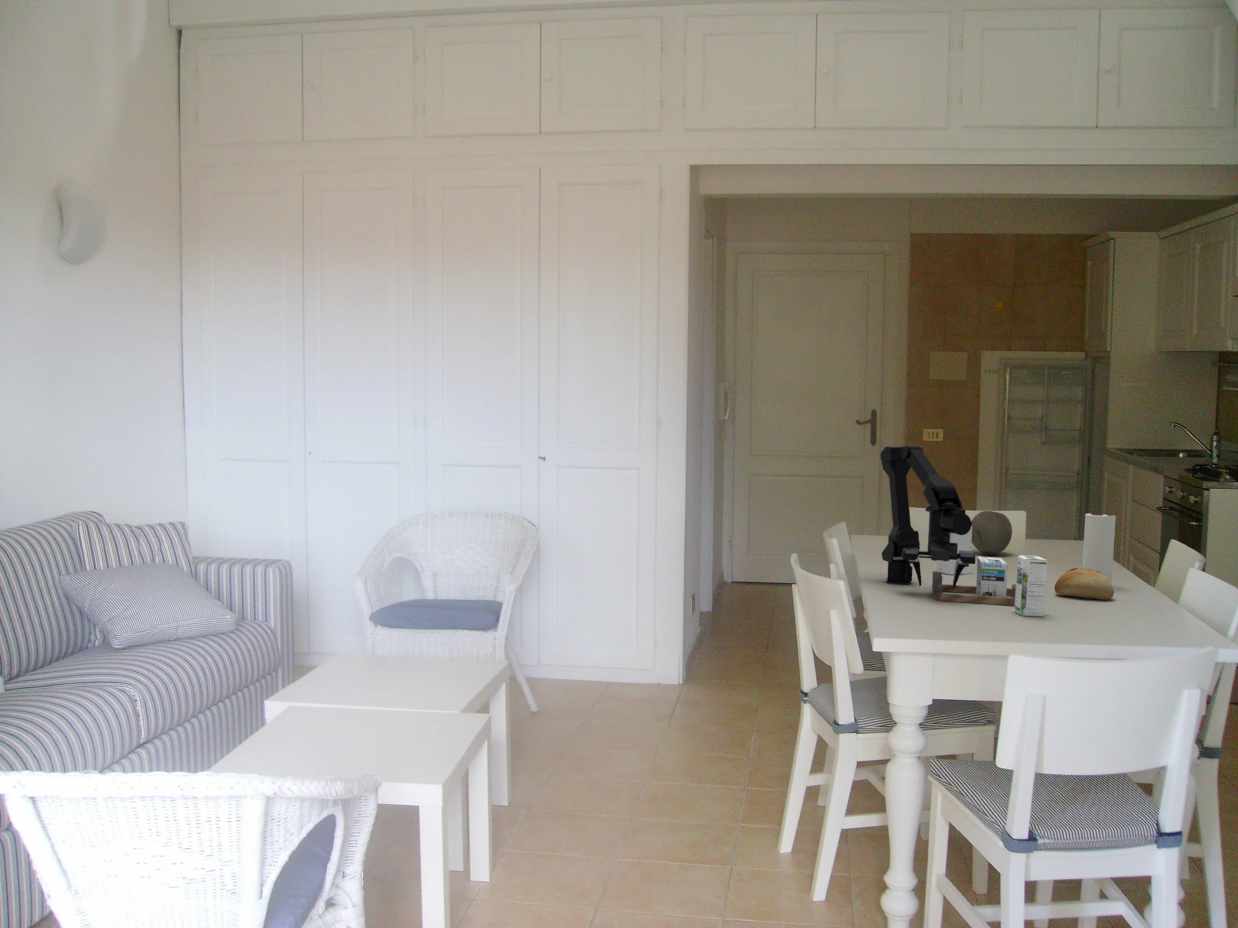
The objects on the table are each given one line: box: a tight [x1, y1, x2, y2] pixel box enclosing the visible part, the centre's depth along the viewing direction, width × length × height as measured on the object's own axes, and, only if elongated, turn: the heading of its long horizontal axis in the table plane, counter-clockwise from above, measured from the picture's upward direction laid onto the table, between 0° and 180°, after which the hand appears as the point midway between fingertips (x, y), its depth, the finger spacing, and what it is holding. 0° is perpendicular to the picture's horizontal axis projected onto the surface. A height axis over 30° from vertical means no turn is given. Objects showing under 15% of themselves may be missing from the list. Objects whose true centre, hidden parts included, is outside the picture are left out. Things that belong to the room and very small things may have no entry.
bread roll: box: [1053, 567, 1115, 601], centre depth 292 cm, size 10×15×8 cm, turn 73°
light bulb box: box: [975, 555, 1009, 597], centre depth 286 cm, size 11×7×11 cm, turn 168°
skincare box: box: [936, 526, 972, 576], centre depth 326 cm, size 8×6×15 cm
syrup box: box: [1014, 554, 1048, 617], centre depth 268 cm, size 6×6×14 cm
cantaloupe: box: [971, 510, 1013, 556], centre depth 365 cm, size 14×14×15 cm
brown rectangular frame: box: [931, 571, 1016, 607], centre depth 287 cm, size 22×15×6 cm
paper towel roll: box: [1081, 513, 1117, 586], centre depth 306 cm, size 7×6×21 cm
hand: (936, 586), depth 290 cm, fingers open, 8 cm apart
